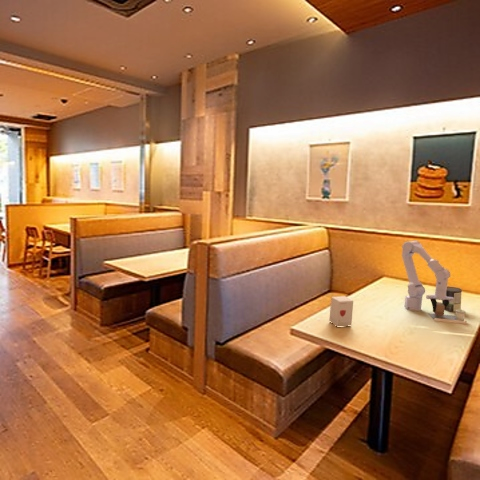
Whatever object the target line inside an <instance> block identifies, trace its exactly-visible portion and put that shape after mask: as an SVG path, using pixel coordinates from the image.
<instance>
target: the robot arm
mask: <svg viewBox="0 0 480 480" xmlns="http://www.w3.org/2000/svg"><path fill="white" fill-rule="evenodd" d="M401 247H402V252H401V257H402V260H403V264H404V265H403V266H404V267H405V268H404V269H405V271H406V275H407V279H408V282H409V283H408V285H407V294H408V295H406V296H405V297H404V304H403V305H404V308H405V310H409V311H418V312H419V311H422V304H423V302H422V301H423V295H425V293H426V289H425V287H424V285H423V283H422V282H421V281H420V280H419V276H418V273H417V271H416V266H415V263H414V259H413V256H414V254H418V255H419V256H420V257H421V258H422V259H423V260H425V262H426V263H427V266H428V268H429V269H430V270H431V271H432V272H433V273H434V277H435V279H436V283H435V290H434V294H428V295H427V294H426V300H430V302H431V305H432V312H433V311H434V312H435V310H436V304H437V302H438V301H441V303H442V304H443V305H444V306H445V308H446V307H447V305H448V304H449V301H454V298H453V297H447V296H446V290H447V287H448V282H449V281H448V280H449V278H451V272H450V270H449V269H447V268H445V267H444V266H443V265H442V264H441V263H440V261H439V259H433V258H432V257H431V255H430V254H429V253H428V252H427V251H426V249H425V248H424V247H423V244H422V243H420V242H419V240H413V241H412V240H409V241H408V240H407V241H405V242H403V244H402V246H401ZM444 311H446V310H445V309H444ZM434 312H433V313H434Z"/></svg>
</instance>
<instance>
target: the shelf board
mask: <svg viewBox="0 0 480 480" xmlns="http://www.w3.org/2000/svg"><path fill="white" fill-rule="evenodd" d="M428 315H429V316H430V318H432V320H434V322H445V323H456V324H464V325H465V324H466V325H467V323H468V322H467V320H464V321H459V320H455V317H456V315H453V314H452V315H450V314H444V316H440V315H436V314H435V313H430V312H429V313H428Z"/></svg>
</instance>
